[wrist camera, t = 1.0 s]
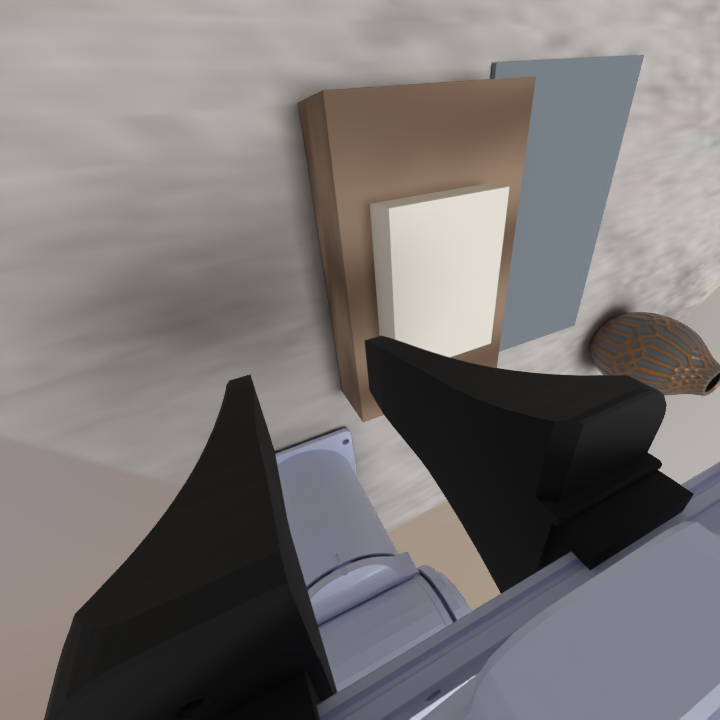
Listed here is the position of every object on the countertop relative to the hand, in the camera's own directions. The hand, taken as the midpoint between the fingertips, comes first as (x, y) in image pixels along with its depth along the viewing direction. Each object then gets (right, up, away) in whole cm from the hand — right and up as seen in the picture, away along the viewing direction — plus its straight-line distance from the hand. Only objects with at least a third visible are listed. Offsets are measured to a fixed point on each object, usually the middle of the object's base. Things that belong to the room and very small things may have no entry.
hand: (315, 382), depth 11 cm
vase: (+25, +3, +23) cm, 34 cm away
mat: (+14, +10, +13) cm, 22 cm away
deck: (+4, +7, +10) cm, 13 cm away
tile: (+5, +5, +7) cm, 10 cm away
